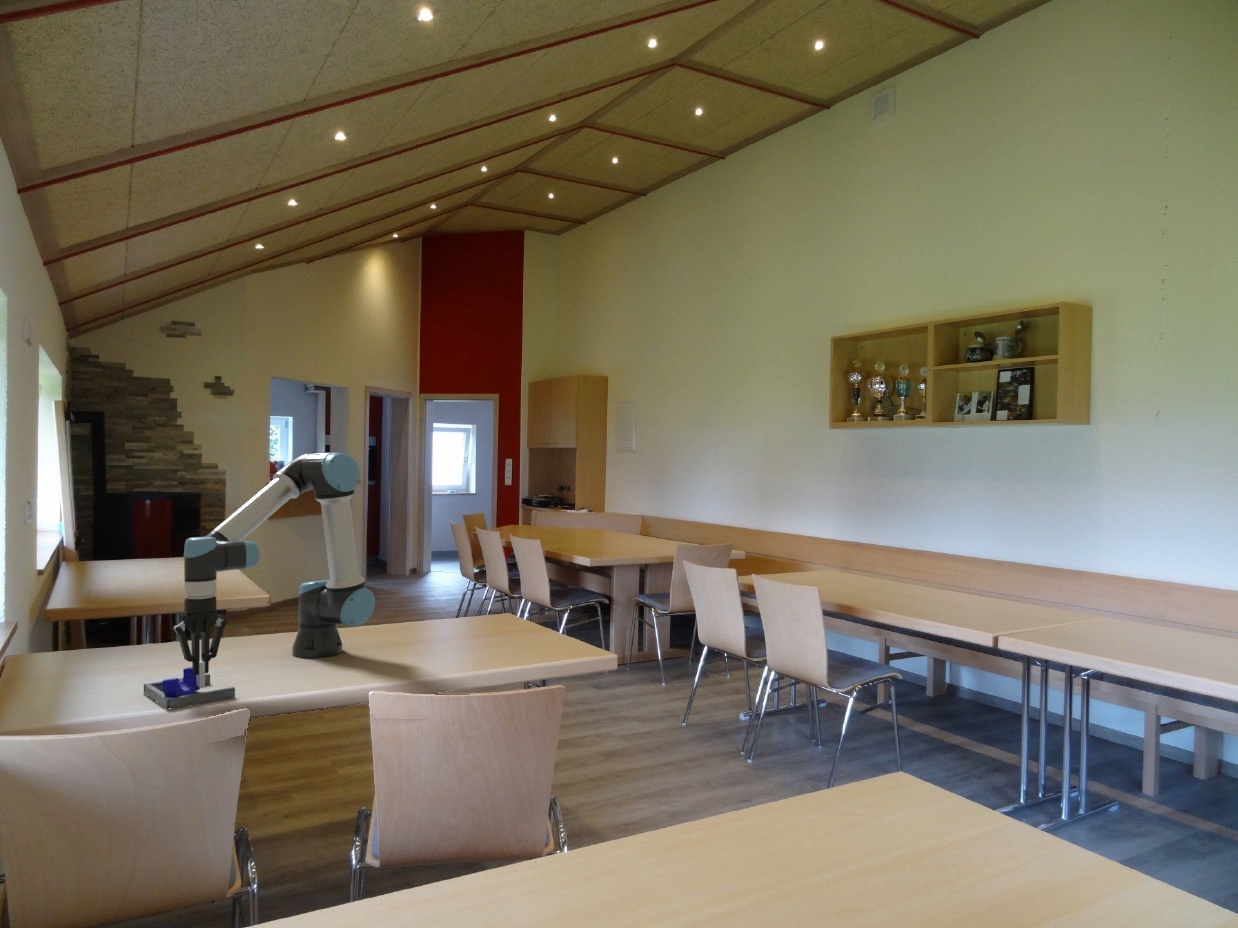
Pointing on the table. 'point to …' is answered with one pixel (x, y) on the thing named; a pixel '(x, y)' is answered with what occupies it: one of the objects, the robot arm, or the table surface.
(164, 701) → the bracket
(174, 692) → the cable clip
